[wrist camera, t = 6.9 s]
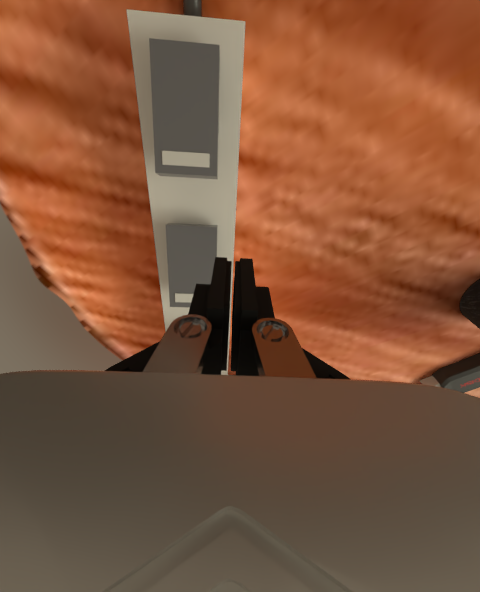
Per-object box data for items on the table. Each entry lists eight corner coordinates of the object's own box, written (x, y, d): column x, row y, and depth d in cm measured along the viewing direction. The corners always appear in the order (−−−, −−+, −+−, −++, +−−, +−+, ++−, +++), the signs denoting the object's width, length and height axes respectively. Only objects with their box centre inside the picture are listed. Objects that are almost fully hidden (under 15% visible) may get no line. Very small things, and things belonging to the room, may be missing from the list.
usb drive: (502, 362, 40) (519, 377, 37) (423, 392, 43) (434, 407, 41) (500, 342, 37) (518, 356, 35) (416, 374, 40) (428, 389, 38)
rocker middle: (169, 222, 21) (165, 224, 20) (217, 225, 22) (217, 227, 20) (172, 300, 24) (169, 307, 22) (216, 302, 24) (215, 308, 23)
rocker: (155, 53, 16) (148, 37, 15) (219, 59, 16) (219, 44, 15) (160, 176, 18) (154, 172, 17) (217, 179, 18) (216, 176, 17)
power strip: (133, -56, 16) (102, -120, 12) (246, -43, 17) (252, -100, 13) (175, 355, 35) (168, 384, 31) (227, 355, 36) (227, 384, 32)
